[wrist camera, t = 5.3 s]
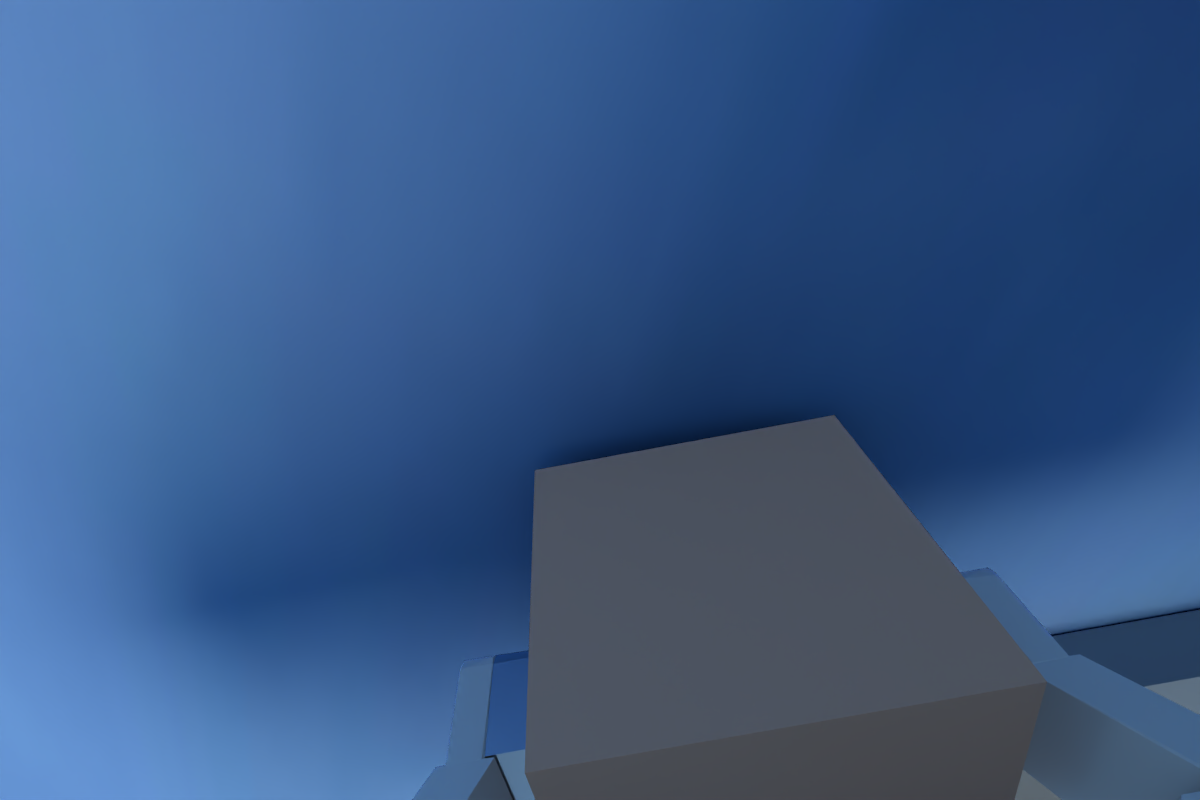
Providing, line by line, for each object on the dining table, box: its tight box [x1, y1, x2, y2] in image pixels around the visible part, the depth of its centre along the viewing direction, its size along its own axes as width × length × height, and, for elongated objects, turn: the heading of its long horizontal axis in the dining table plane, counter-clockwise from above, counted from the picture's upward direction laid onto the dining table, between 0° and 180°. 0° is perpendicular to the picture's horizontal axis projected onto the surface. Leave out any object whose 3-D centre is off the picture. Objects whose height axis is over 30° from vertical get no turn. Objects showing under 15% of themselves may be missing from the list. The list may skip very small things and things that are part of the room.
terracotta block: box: [525, 415, 1047, 800], centre depth 9 cm, size 5×5×5 cm
